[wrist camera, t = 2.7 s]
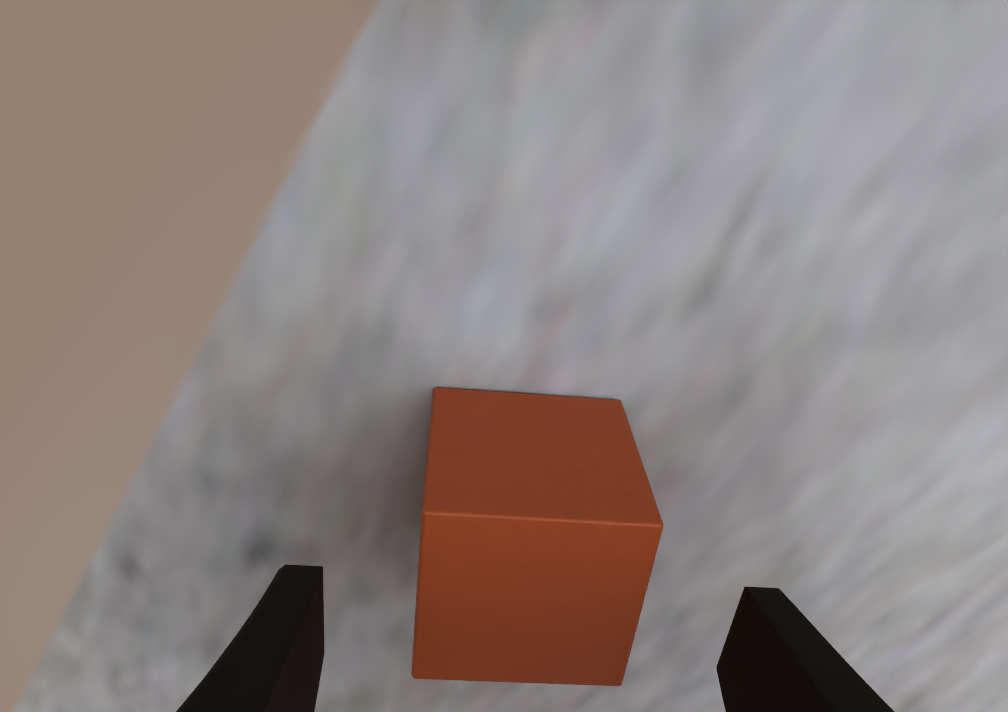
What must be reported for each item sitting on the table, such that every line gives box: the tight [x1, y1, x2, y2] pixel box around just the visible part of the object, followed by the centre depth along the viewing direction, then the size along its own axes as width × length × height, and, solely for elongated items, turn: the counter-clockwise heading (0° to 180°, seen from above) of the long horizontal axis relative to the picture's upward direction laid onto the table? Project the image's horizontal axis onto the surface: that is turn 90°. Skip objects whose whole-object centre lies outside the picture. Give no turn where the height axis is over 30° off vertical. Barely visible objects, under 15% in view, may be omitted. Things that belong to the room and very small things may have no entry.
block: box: [411, 388, 663, 686], centre depth 15 cm, size 4×4×4 cm
